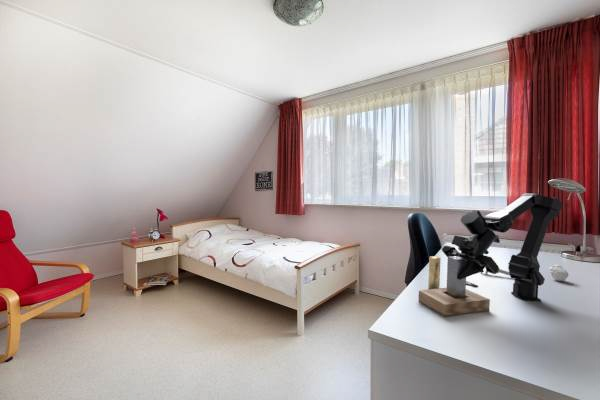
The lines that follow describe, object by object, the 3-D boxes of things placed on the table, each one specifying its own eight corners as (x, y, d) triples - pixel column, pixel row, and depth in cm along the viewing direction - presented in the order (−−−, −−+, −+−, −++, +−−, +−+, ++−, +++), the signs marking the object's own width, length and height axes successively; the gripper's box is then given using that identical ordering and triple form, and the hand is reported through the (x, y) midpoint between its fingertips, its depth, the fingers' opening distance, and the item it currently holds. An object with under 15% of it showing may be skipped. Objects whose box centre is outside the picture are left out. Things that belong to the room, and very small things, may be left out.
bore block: (459, 296, 100) (459, 286, 100) (489, 311, 89) (489, 299, 89) (418, 301, 96) (418, 290, 96) (444, 317, 84) (445, 304, 84)
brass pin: (436, 287, 109) (438, 256, 109) (440, 291, 105) (442, 259, 105) (426, 287, 110) (427, 256, 109) (430, 290, 106) (431, 258, 105)
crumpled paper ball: (558, 278, 124) (559, 263, 123) (572, 283, 117) (573, 267, 117) (544, 277, 124) (545, 262, 124) (557, 283, 117) (558, 267, 117)
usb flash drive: (478, 287, 111) (478, 285, 111) (469, 288, 110) (469, 286, 110) (460, 280, 120) (460, 278, 119) (451, 281, 118) (451, 279, 118)
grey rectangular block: (455, 292, 95) (457, 256, 94) (465, 296, 91) (466, 259, 90) (446, 293, 94) (447, 256, 93) (455, 297, 90) (457, 259, 89)
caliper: (480, 274, 129) (481, 261, 129) (480, 273, 130) (481, 260, 130) (536, 283, 118) (537, 269, 117) (536, 282, 119) (536, 268, 118)
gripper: (446, 224, 101) (420, 254, 99) (493, 232, 83) (463, 269, 81) (462, 243, 104) (437, 273, 101) (511, 255, 86) (482, 292, 83)
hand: (453, 276), depth 92 cm, fingers closed on grey rectangular block, 4 cm apart
